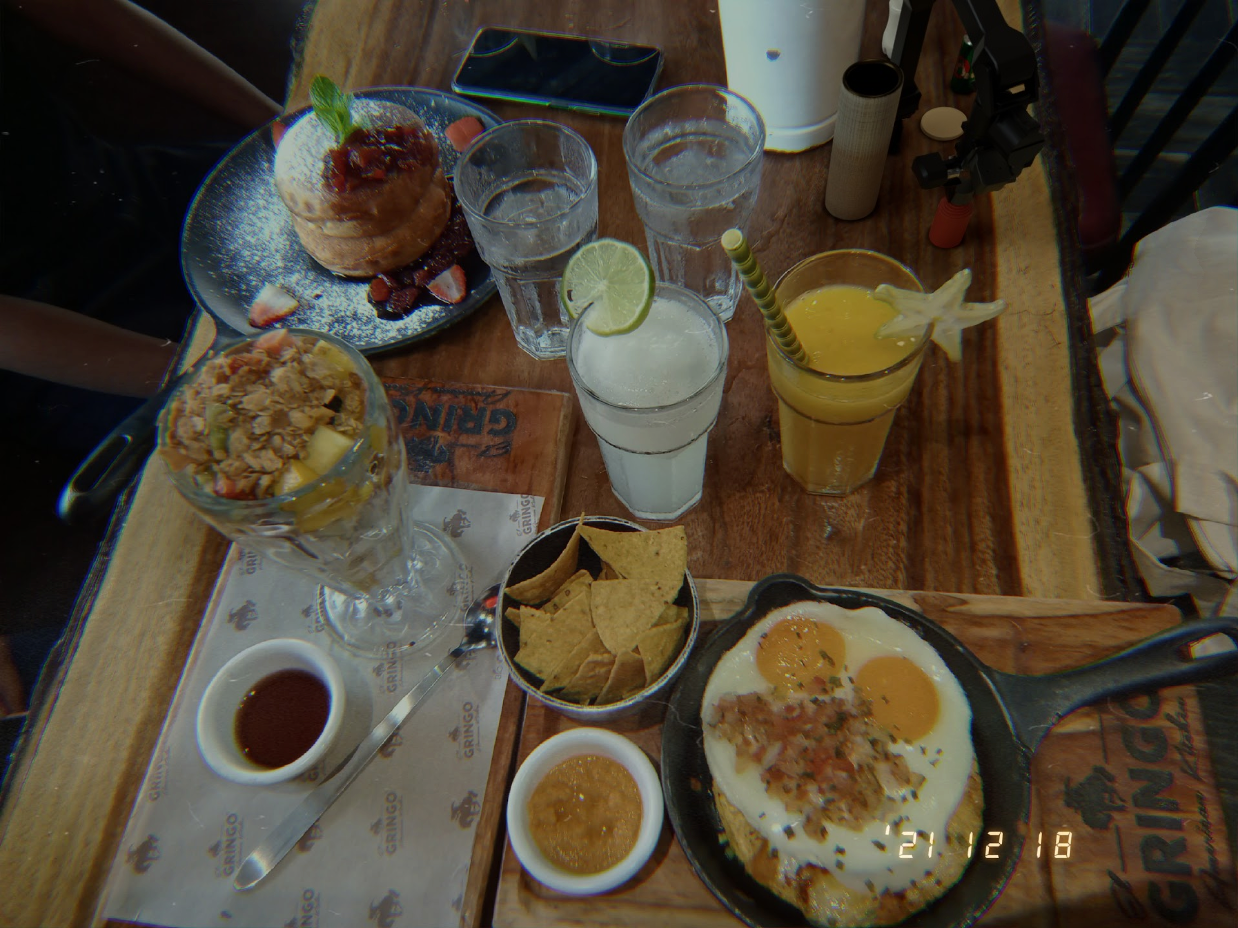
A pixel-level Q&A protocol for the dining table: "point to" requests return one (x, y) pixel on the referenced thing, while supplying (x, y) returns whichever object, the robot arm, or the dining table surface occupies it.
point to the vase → (862, 136)
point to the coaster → (943, 123)
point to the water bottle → (891, 26)
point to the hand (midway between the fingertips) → (959, 198)
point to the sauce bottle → (950, 223)
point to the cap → (963, 192)
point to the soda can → (963, 68)
